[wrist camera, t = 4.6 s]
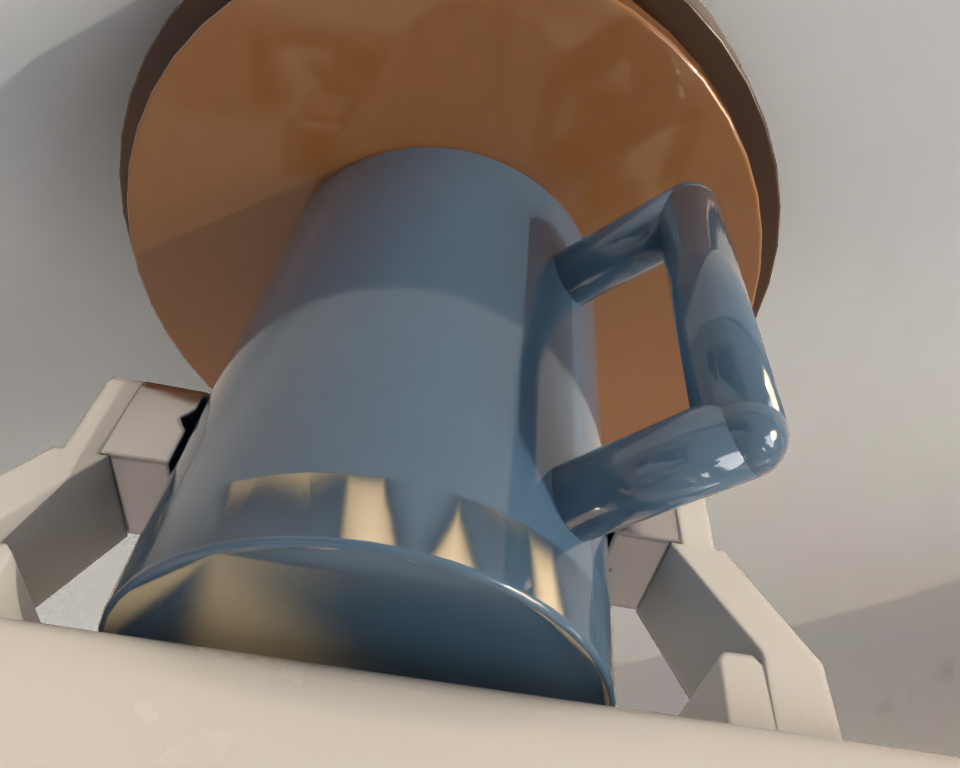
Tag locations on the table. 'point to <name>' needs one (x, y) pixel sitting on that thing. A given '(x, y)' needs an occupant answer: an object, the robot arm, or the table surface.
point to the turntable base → (666, 3)
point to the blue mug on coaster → (439, 330)
